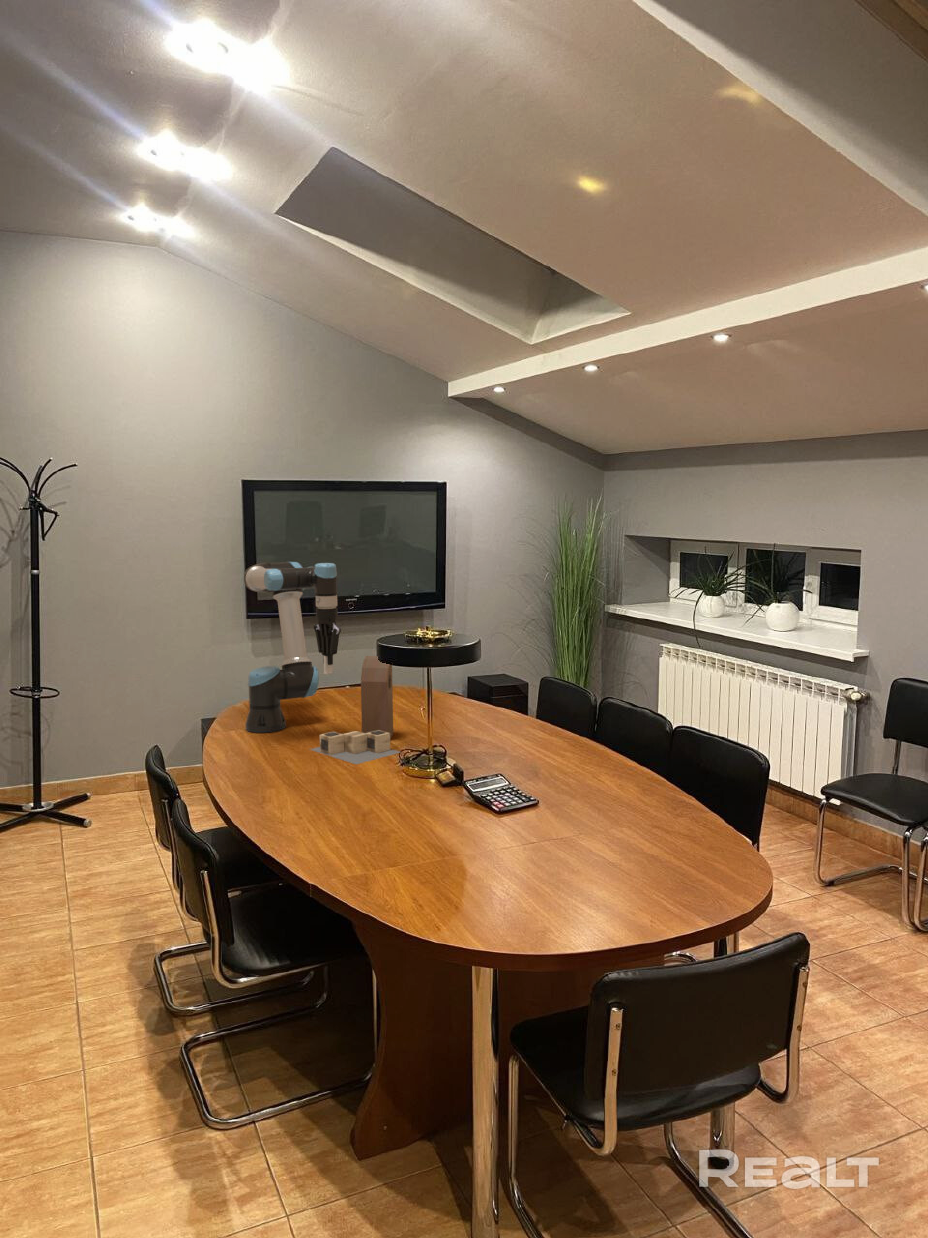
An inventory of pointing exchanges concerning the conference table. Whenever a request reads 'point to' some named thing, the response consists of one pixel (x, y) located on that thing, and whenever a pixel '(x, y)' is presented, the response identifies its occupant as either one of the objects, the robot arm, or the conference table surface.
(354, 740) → the plain block
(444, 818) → the conference table surface
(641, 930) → the conference table surface
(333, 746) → the marked block
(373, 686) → the decorative block
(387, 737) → the marked block
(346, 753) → the mat
